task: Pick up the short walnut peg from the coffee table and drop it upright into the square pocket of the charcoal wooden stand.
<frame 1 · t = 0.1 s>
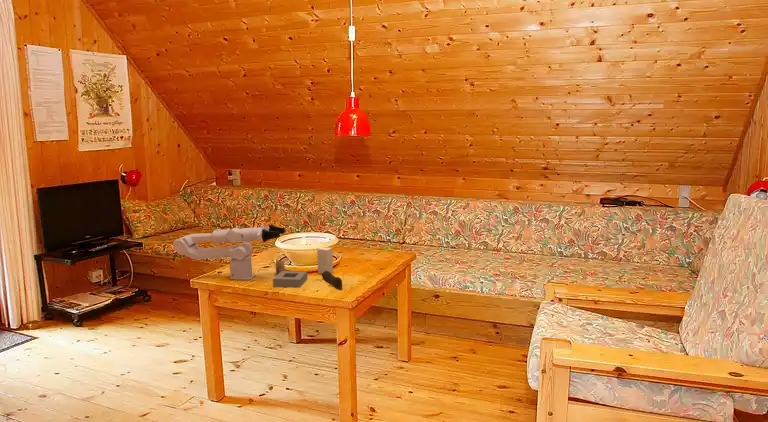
hand: (282, 232, 249), 22 cm above the table, tool horizontal, fingers open, 7 cm apart
socket stand: (290, 282, 247), on the table
skincare box: (325, 273, 260), on the table
hand tool: (334, 285, 244), on the table
walnut peg: (280, 273, 260), on the table
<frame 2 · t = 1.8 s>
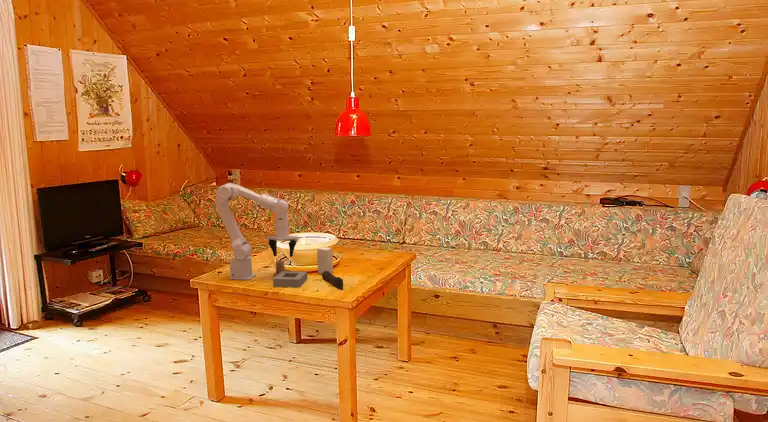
hand: (283, 256, 253), 10 cm above the table, tool pointing down, fingers open, 7 cm apart
nothing on the table moved.
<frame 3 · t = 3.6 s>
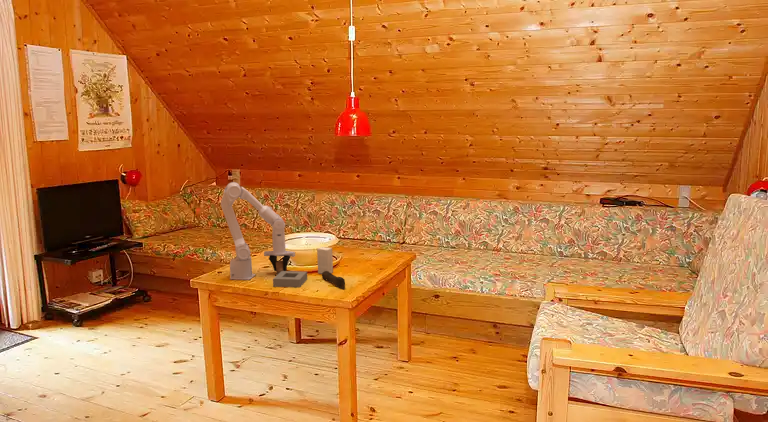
hand: (280, 270, 260), 1 cm above the table, tool pointing down, fingers closed on walnut peg, 4 cm apart
walnut peg: (280, 273, 260), on the table, touching gripper
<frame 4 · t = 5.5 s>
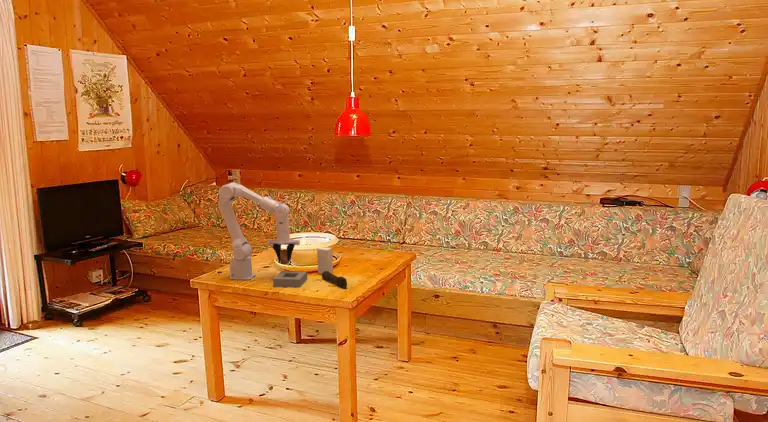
hand: (284, 260, 252), 8 cm above the table, tool pointing down, fingers closed on walnut peg, 4 cm apart
walnut peg: (284, 263, 253), point 7 cm above the table, touching gripper
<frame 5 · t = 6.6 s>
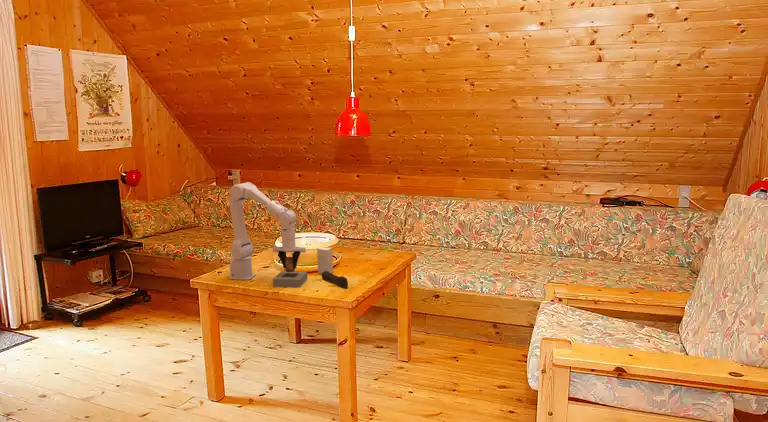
hand: (290, 267, 245), 7 cm above the table, tool pointing down, fingers closed on walnut peg, 4 cm apart
walnut peg: (290, 270, 246), point 5 cm above the table, touching gripper
when the fingers open (4 cm above the table, at t = 7.5 s): walnut peg drops 2 cm, resting on socket stand.
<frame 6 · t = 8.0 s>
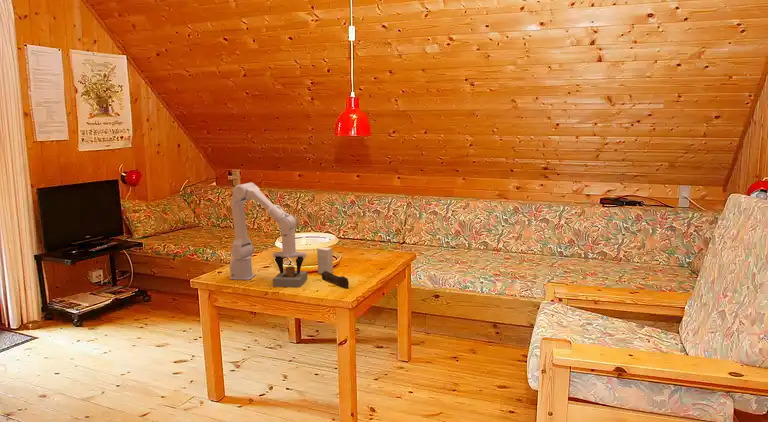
hand: (290, 273, 246), 4 cm above the table, tool pointing down, fingers open, 7 cm apart
walnut peg: (290, 280, 246), point 1 cm above the table, touching socket stand
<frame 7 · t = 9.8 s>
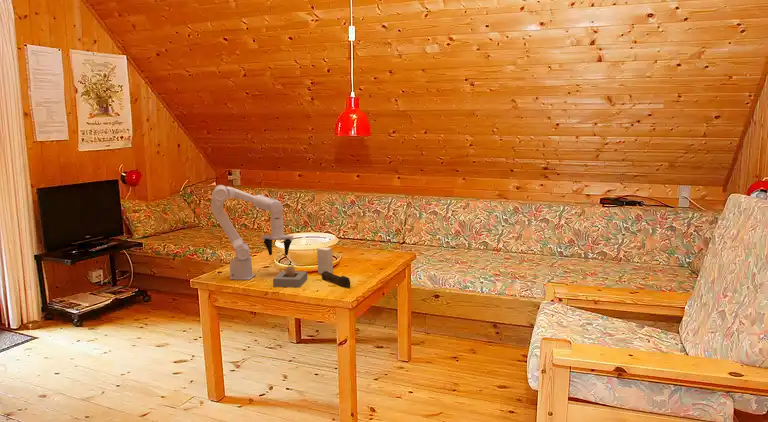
hand: (278, 254, 258), 9 cm above the table, tool pointing down, fingers open, 7 cm apart
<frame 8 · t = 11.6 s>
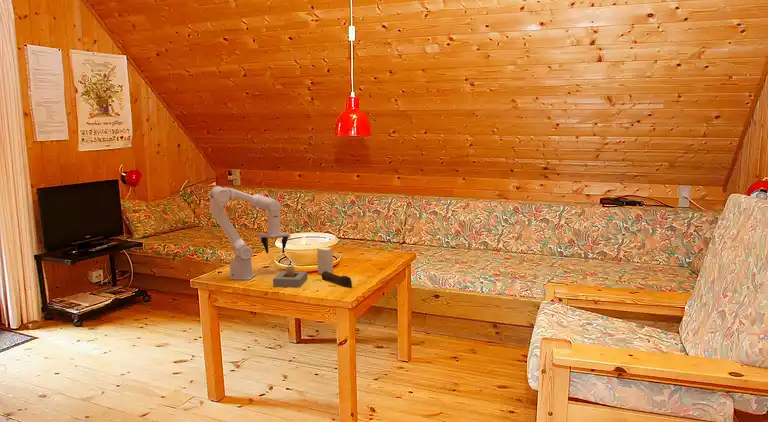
hand: (275, 252, 262), 9 cm above the table, tool pointing down, fingers open, 7 cm apart
at the end: walnut peg 0.1 cm off-centre on the socket stand, point 1.0 cm above the socket stand's base; walnut peg tilted 0°; the gripper is holding nothing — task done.
